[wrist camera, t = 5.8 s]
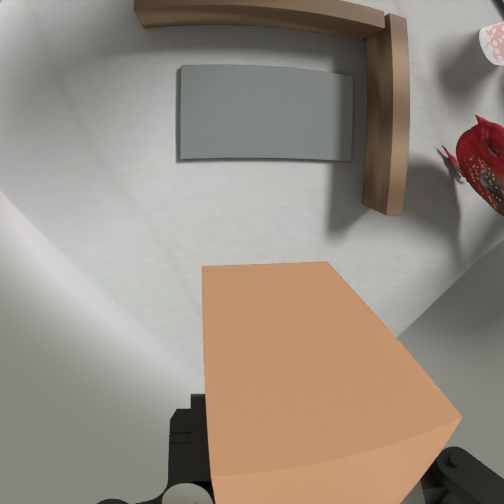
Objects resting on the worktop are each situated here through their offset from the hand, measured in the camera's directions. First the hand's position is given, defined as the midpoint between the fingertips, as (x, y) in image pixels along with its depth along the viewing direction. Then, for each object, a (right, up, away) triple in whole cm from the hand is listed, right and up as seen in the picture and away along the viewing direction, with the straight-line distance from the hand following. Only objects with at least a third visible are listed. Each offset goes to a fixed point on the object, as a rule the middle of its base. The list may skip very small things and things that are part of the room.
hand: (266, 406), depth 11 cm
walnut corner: (+1, +16, +12) cm, 20 cm away
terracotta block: (0, 0, +1) cm, 1 cm away
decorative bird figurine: (+20, +13, +16) cm, 29 cm away
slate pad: (+1, +16, +12) cm, 20 cm away
